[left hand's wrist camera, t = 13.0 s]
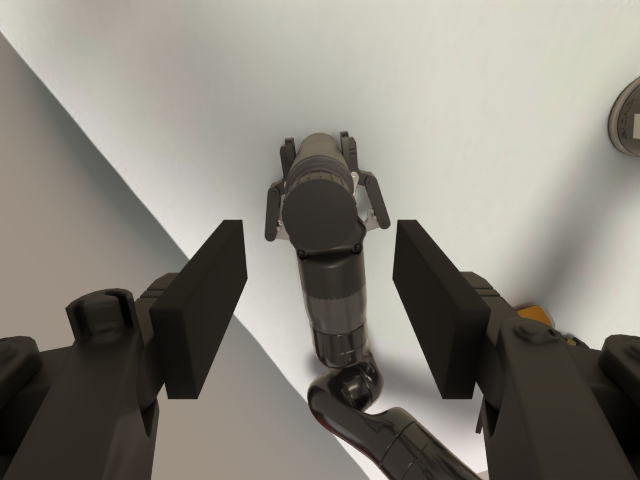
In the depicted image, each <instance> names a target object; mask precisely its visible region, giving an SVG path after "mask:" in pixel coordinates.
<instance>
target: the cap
mask: <svg viewBox="0 0 640 480" xmlns="http://www.w3.org/2000/svg"><path fill="white" fill-rule="evenodd" d="M283 203H284V205H283V209H282V221H283V225H284V228H285V230H286V232H287V234H288V235H289V236H290V238H291V239H292V240H293V241H295V242H296V243H297V244H299V245H300V246H302V247H304V248H307V249H310V250H316V251H324V250H329V249H333V248H335V247H337V246H339V245H341V244H342V243H344V242H345V241H346V240H347V239H348V238H349V237H350V235H351V234H352V232H353V230H354V228H355V226H356V222H357V216H358V214H357V208H356V201H355V198H354V196H353V195H352V192H351V189H350V187H348V186H347V185H346V184H345V182H343V180H342V179H340V178H338V177H336V176H335V175H333V174H332V173H331V174H329V173H324V172H321V171H320V172H315V173H308V174H307V175H305V176H303V177H301V178H300V177H299V178H298V180H297V181H296V182H295V183H294V184H293V185H291V186H290V189H289V191H288V193H287V195H286V196H285V198H284V201H283Z"/></svg>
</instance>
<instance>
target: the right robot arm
mask: <svg viewBox="0 0 640 480" xmlns="http://www.w3.org/2000/svg"><path fill="white" fill-rule="evenodd" d="M609 133H610V138H611V140H612V142H613V144H614V145H615V147H616V148H617V149H618V150H620V151H621V152H623V153H625V154H627V155H632V156H638V157H640V77H639V78H638V79H636V80H635V81H634V82H633V83H631V84H630V85H629V86H628V87H627V88H626V89H625V90H624V92H623V93H622V94H621V95H620V97H619V98H618V100H617V102H616V103H615V105H614V107H613V110H612V113H611V116H610V121H609ZM340 138H341V149H342V155H343V157H344V160H345V162H346V164H347V167H348V169H349V171H350V173H351V176H352V178H353V182H354V195H355V191H356V188H357V184H359V185H363V186H365V188H366V191H367V194H368V197H369V200H370V203H371V206H372V208H370V209H369V210H368V211H367V219H366V220H365V221H362V220H361V219H360V218H359V217H358V216H357V222H356V226H355V228H354V230H353V232H352V234H351V235H350V237H349V238H348V239H347V240H346V241H345V242H344V243H342V244H341V245H339V246H337V247H335V248H333V249H329V250H324V251H316V250H310V249H307V248H304V247H302V246H300V245H299V244H297V243H296V242H295V241H293V240H292V239H291V238H290V236H289V235H288V234H287V232H286V230H285V228H284V225H283V221H282V219H280V218H279V217H280V206H281V195H283V194H285V183H286V179H287V176H288V174H289V172H290V169H291V167H292V165H293V163H294V160H295V158H296V152H295V145H294V139H293V138H286V139H285V145H282V146H281V149H280V156H281V162H282V168H283V175H284V178H283V179H282V180H281V181H279V182H275V183H273V184H272V185H271V188H270V189H269V190H268V197H267V211H266V225H265V239H266V240H267V241H274V240H275V238H276V239H285V240H290V242H291V244H292V245H293V246H294V247H295V249H296V253H297V260H298V266H299V272H300V279H301V285H302V291H303V297H304V304H305V308H306V312H307V315H308V318H309V322H310V328H311V334H312V342H313V347H314V352H315V355H316V357H317V359H318V360H319V361H320V362H321V363H322V364H323V365H325V366H327V367H329V368H330V369H329V370H327V371H326V372H324V373H323V374H321V375H320V376H318V377H317V378H316V379H315V380H314V381H313V382H312V383H311V384H310V386H309V388H308V392H307V400H308V405H309V408H310V410H311V412H312V414H313V416H314V417H315V418H316V420H317V421H318V422H319V423H320V424H321V425H322V426H323V427H325V428H326V429H327V430H329V431H330V432H331V433H333V434H335V435H336V436H338V437H339V438H341V439H342V440H344V441H345V442H347V443H348V444H350V445H351V446H353V447H354V448H355V449H357V450H358V451H360V452H361V453H362V454H364V455H365V456H366V457H368V458H369V459H370V460H371V461H373V462H374V464H375V465H376V466H377V467H378V468H379V469H380V470H381V471H382V473H383V474H384V475H385V476H386V477H387V478H388V479H389V480H484V479H482V478H481V477H480V476H479V475H478V474H476V473H475V472H474V471H473V470H472V469H470V468H469V467H468V466H467V465H466V464H464V463H463V462H462V461H461V460H460V459H459V458H458V457H457V456H455V455H454V454H453V453H452V452H451V451H450V450H449V449H448V448H447V447H446V446H444V445H443V444H442V443H441V442H440V441H439V440H438V439H437V438H436V437H435V436H434V435H433V434H431V433H430V432H429V431H428V430H427V429H426V428H425V427H424V426H423V425H422V424H421V423H420V422H418V421H417V420H416V419H415V418H414V417H413V416H412V415H411V414H410V413H408V412H407V411H406V410H404V409H403V408H400V407H394V408H391V409H388V410H386V411H384V412H382V413H379V414H374V415H370V414H367V413H365V411H366V410H367V409H368V408H369V407H371V406H372V405H373V404H374V403H375V402H376V401H377V400H378V399H379V397H380V396H381V393H382V390H383V384H384V380H383V376H382V373H381V370H380V368H379V366H378V364H377V361H376V359H375V357H374V354H373V351H372V349H371V346H370V344H369V341H368V333H367V322H366V307H367V294H366V282H365V281H366V280H365V268H364V255H363V240H364V237H365V235H366V232H367V231H370V230H372V229H375V228H378V227H380V228H382V229H387V228H389V226H390V220H389V217H388V213H387V210H386V207H385V204H384V201H383V198H382V195H381V192H380V188H379V185H378V182H377V179H376V178H375V176H374V175H373V174H372V173H371V172H364V171H361V170H359V169H358V163H357V150H356V142H355V140H354V138H353V137H349V136H348V132H347V131H344V132H340Z"/></svg>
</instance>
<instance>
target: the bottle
mask: <svg viewBox="0 0 640 480" xmlns="http://www.w3.org/2000/svg"><path fill="white" fill-rule="evenodd" d="M320 171H321V172H324V173H329V174H331V173H332V174H333V175H335V176H336V177H338V178H340V179H342V180H343V182H345V184H346V185H347V186H348V187H350V189H351V192H352V195H353V196H354V182H353V178H352V176H351V173H350V171H349V169H348V167H347V164H346V162H345V160H344V157H343V155H342V153H341V151H340V148H339V146H338V144H337V142H336V141H335V140H334V139H333V138H332V137H331V136H329V135H327V134H324V133H315V134H312V135H310V136H309V137H307V138H306V139H305V140H304V141H303V143H302V145H301V147H300V149H299V151H298V154H297V156H296V158H295V160H294V163H293V165H292V167H291V169H290V172H289V174H288V176H287V179H286V183H285V194H286V195H287V193H288V191H289V189H290V186H291V185H293V184H294V183H295V182H296V181H297V180H298V178H299V177H300V178H301V177H303V176H305V175H307V174H308V173H315V172H320Z"/></svg>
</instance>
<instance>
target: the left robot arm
mask: <svg viewBox="0 0 640 480" xmlns="http://www.w3.org/2000/svg"><path fill="white" fill-rule="evenodd" d="M247 279H248V278H247V267H246V255H245V244H244V233H243V222H242V220H223V221H222V223H221V224H220V225H219V226H218V227H217V229H216V230H215V231H214V232H213V233H212V235H211V236H210V237H209V238H208V239H207V240H206V242H205V243H204V244H203V245H202V246H201V248H200V249H199V250H198V251H197V252H196V254H195V255H194V256H193V257H192V258H191V260H190V261H189V262H188V263H187V264H186V266H185V267H184V268H183V269H182V270H181V271H180V273H167V274H165V275H164V276H162V277H160V278H158V279H156V280H155V281H154V282H153V283H152V284H151V285H150V286H149V287H148V288H147V291H145V292H144V293H143V294H142V295H141V296H140V298H138V299H137V300H136V301H135V302H134V299H133V295H132V293H131V292H130V291H128V290H126V289H119V288H115V289H105V290H100V291H95V292H92V293H89V294H87V295H84V296H82V297H80V298H78V299H76V300H75V301H73V302H71V303H70V304H69V305H68V306H67V307H66V308H65V309H66V312H67V315H68V319H69V322H70V325H71V328H72V331H73V334H74V337H75V341H74V343H73V345H72V346H69V347H64V348H59V349H53V350H48V351H43V352H39V350H38V347H37V344H36V342H35V340H34V339H32V338H31V337H26V336H16V337H9V338H2V339H0V480H151V474H152V466H153V458H154V450H155V442H156V433H157V426H158V417H159V405H158V401H157V395H158V393H159V391H160V389H161V388H162V386H163V384H164V382H165V387H166V392H167V396H168V399H198V396H199V394H200V392H201V389H202V387H203V384H204V382H205V379H206V377H207V375H208V372H209V370H210V367H211V365H212V363H213V360H214V358H215V356H216V353H217V351H218V348H219V346H220V344H221V341H222V339H223V336H224V334H225V332H226V329H227V327H228V324H229V322H230V320H231V317H232V315H233V312H234V310H235V308H236V305H237V303H238V301H239V298H240V296H241V293H242V291H243V289H244V286H245V284H246V281H247ZM392 279H393V281H394V284H395V286H396V289H397V291H398V293H399V296H400V298H401V301H402V303H403V305H404V308H405V310H406V313H407V315H408V317H409V320H410V322H411V324H412V327H413V329H414V332H415V334H416V336H417V339H418V341H419V344H420V346H421V348H422V351H423V353H424V356H425V358H426V360H427V363H428V365H429V368H430V370H431V372H432V375H433V377H434V380H435V382H436V384H437V387H438V389H439V392H440V394H441V396H442V399H472V396H473V392H474V387H475V382H477V384H478V386H479V388H480V389H481V391H482V393H483V395H484V396H483V401H482V405H481V409H480V413H479V418H478V422H477V426H476V432H475V433H479V434H480V433H481V429H482V426H483V433H484V441H485V449H486V457H487V465H488V473H489V480H640V337H637V336H629V335H622V334H620V335H611V336H609V337H608V338H606V339H605V342H604V344H603V347H602V350H601V351H600V350H595V349H590V348H585V347H579V346H574V345H569V344H567V342H566V341H565V339H564V338H563V336H562V335H561V334H560V333H559V332H558V331H556V330H555V329H553V328H552V327H550V326H549V325H546V324H544V323H542V322H539V321H537V320H533V319H529V318H524V317H521V316H520V315H519V314H518V313H517V312H516V311H515V310H514V309H513V308H512V307H511V306H510V305H509V304H508V303H507V302H506V301H505V300H504V298H503V297H500V294H499V293H498V292H497V291H496V290H493V287H492V286H491V285H490V284H489V283H488V282H487V281H486V280H485V279H484V278H482V277H480V276H479V275H477V274H475V273H473V272H460V271H459V270H458V269H457V268H456V267H455V265H454V264H453V263H452V262H451V261H450V260H449V258H448V257H447V256H446V255H445V254H444V252H443V251H442V250H441V249H440V248H439V246H438V245H437V244H436V243H435V242H434V240H433V239H432V238H431V237H430V236H429V235H428V233H427V232H426V231H425V230H424V229H423V227H422V226H421V225H420V224H419V223H418V221H417V220H398V222H397V233H396V244H395V255H394V267H393V278H392Z"/></svg>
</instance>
